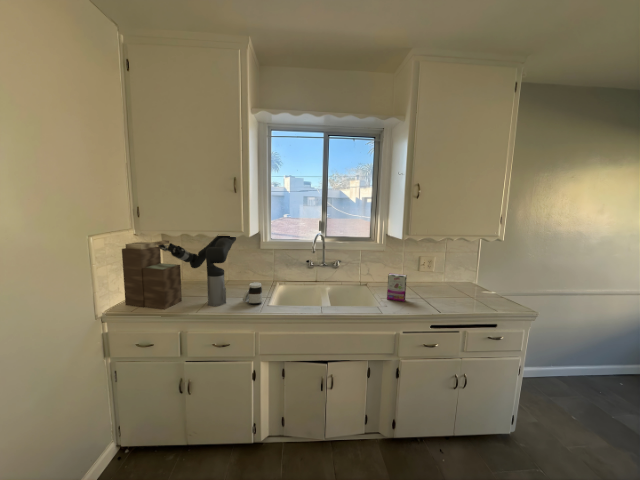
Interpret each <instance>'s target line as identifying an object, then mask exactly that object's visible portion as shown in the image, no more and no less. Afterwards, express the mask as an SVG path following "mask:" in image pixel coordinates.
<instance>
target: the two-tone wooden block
mask: <svg viewBox="0 0 640 480" xmlns="http://www.w3.org/2000/svg"><path fill="white" fill-rule="evenodd" d="M161 253H162V252H161V249H160V247H159V246H156V247H153V248H147V249H142V250H139V249H126V247H125V248H121V258H122V259H121V260H122V270H123V271H122V272H123V288H124V299H125V300H124V303H125V306H130V307H139V308H148V309H149V308H150V309H159V310H166V309H169V308H171V307H173V306H176V305H178V304H179V303H182V301H183V300H182V274H181V272H182V271H181V264H174V263H163V262H162V257H161V256H162V255H161Z"/></svg>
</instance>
